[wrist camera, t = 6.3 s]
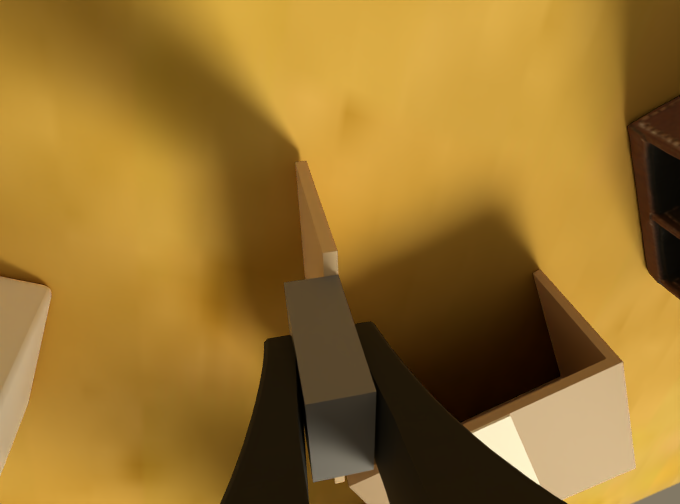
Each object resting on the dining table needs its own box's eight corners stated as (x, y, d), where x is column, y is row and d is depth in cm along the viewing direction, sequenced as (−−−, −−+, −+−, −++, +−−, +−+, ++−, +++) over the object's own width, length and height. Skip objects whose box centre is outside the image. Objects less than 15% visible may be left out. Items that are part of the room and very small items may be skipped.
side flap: (306, 160, 17) (377, 365, 9) (320, 373, 24) (369, 593, 16) (264, 165, 17) (302, 379, 9) (291, 378, 24) (325, 604, 16)
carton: (567, 376, 29) (637, 470, 24) (392, 457, 30) (425, 561, 26) (540, 269, 23) (624, 363, 18) (323, 374, 25) (349, 489, 20)
